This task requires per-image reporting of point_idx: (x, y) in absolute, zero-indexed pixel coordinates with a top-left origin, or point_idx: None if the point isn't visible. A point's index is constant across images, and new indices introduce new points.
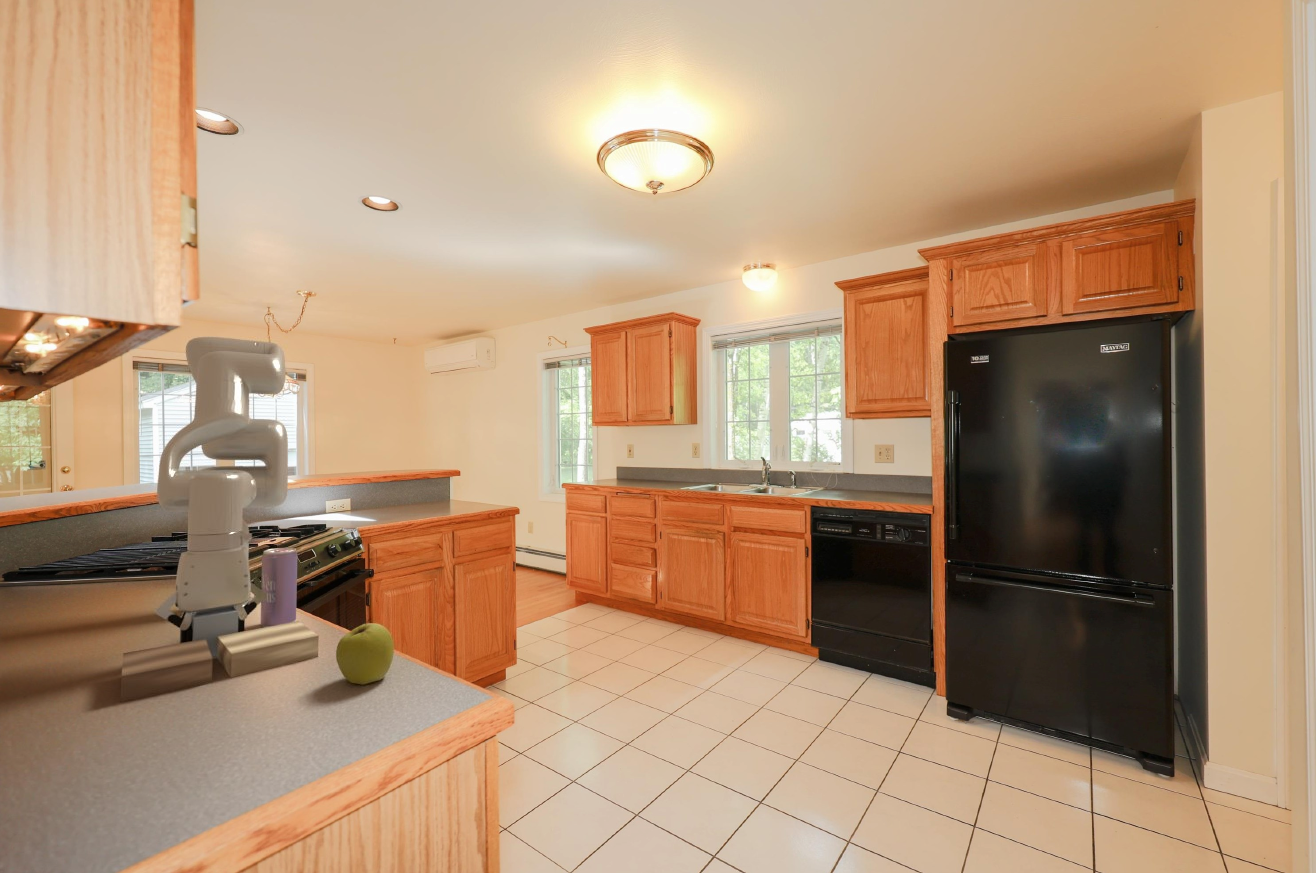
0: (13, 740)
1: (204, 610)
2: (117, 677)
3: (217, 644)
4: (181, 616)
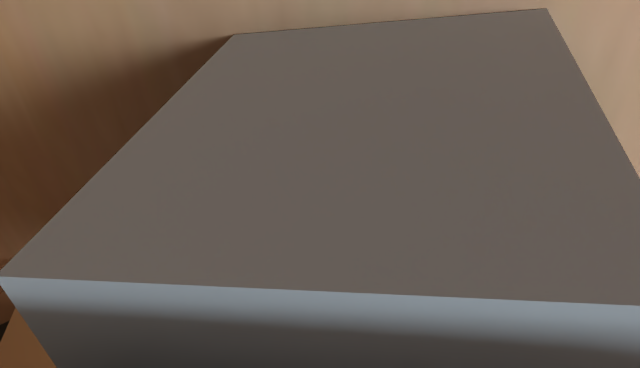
0: None
1: (212, 356)
2: (15, 254)
3: None
4: (3, 365)
